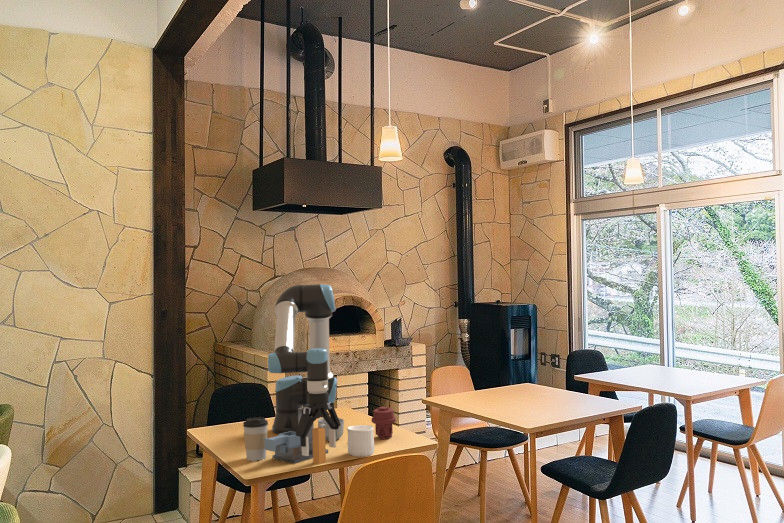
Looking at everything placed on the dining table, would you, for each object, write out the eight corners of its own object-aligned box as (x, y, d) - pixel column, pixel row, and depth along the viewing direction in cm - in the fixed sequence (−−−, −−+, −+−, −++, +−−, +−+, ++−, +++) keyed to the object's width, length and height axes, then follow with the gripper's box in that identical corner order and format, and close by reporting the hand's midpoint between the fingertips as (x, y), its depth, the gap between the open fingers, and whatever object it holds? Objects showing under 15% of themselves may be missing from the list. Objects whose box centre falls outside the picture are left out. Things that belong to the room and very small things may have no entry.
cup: (377, 455, 237) (376, 429, 237) (351, 458, 234) (350, 431, 234) (371, 449, 246) (370, 423, 246) (345, 451, 243) (345, 426, 243)
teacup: (330, 434, 271) (329, 415, 271) (349, 437, 264) (349, 418, 264) (307, 441, 259) (307, 422, 259) (327, 445, 253) (327, 425, 253)
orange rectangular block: (313, 462, 230) (312, 428, 230) (319, 460, 232) (318, 427, 232) (319, 464, 227) (318, 430, 228) (325, 461, 230) (325, 428, 230)
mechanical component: (398, 435, 267) (393, 441, 257) (375, 434, 269) (369, 440, 259) (397, 405, 267) (392, 410, 257) (374, 405, 269) (368, 409, 259)
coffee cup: (245, 455, 241) (244, 415, 241) (270, 454, 241) (269, 414, 242) (242, 462, 232) (241, 421, 232) (267, 461, 232) (266, 420, 233)
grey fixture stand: (272, 458, 236) (271, 411, 236) (306, 448, 249) (305, 404, 250) (294, 463, 228) (293, 415, 229) (328, 452, 242) (327, 407, 242)
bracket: (263, 455, 229) (263, 438, 229) (291, 447, 239) (290, 430, 240) (275, 458, 225) (274, 440, 226) (302, 450, 235) (302, 433, 236)
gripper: (299, 398, 218) (300, 460, 218) (349, 387, 238) (350, 445, 237) (284, 396, 223) (285, 457, 222) (334, 386, 242) (335, 442, 242)
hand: (319, 451), depth 230 cm, fingers open, 13 cm apart
